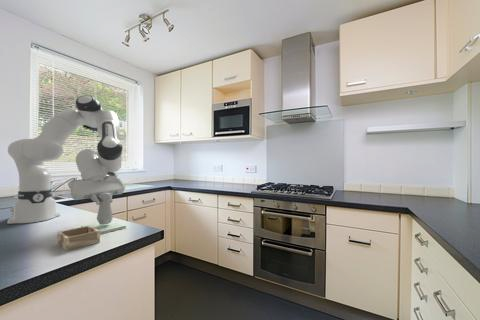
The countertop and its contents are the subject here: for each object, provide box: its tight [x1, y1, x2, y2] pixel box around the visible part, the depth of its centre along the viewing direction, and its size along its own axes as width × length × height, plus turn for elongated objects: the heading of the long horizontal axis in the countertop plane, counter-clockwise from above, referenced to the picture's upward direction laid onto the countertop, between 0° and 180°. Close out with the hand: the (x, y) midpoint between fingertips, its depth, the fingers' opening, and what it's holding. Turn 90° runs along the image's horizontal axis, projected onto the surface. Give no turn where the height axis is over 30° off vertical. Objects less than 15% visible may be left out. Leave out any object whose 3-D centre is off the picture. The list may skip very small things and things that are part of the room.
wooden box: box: [57, 226, 101, 252], centre depth 76 cm, size 10×10×4 cm
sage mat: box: [80, 219, 127, 235], centre depth 92 cm, size 14×12×1 cm
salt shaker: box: [96, 192, 114, 225], centre depth 93 cm, size 6×6×13 cm
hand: (105, 203), depth 92 cm, fingers closed on salt shaker, 3 cm apart
